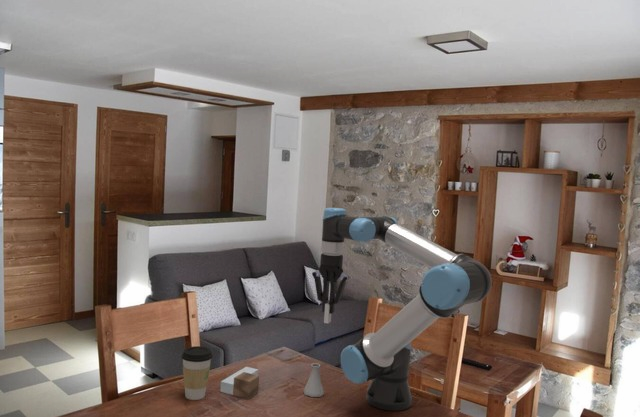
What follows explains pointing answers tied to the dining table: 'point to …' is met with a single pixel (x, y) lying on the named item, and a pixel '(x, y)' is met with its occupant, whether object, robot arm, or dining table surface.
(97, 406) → the dining table surface
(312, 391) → the flask
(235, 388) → the walnut block
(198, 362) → the coffee cup
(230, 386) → the white rectangular block
